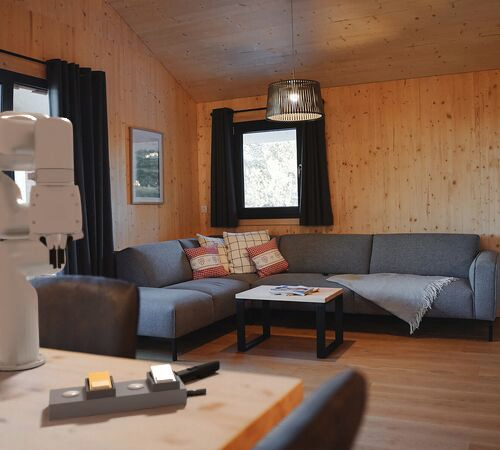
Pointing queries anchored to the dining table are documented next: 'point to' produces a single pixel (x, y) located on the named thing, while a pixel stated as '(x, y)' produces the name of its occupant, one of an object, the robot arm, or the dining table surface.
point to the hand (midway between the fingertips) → (57, 267)
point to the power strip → (117, 397)
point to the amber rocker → (99, 380)
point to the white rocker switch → (162, 373)
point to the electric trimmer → (198, 371)
